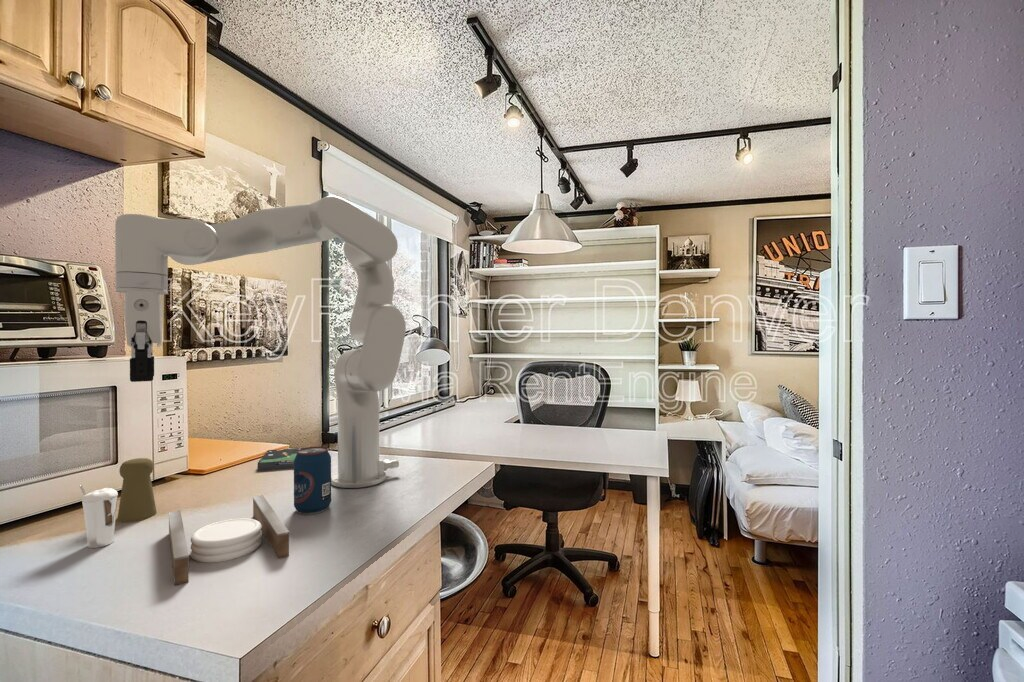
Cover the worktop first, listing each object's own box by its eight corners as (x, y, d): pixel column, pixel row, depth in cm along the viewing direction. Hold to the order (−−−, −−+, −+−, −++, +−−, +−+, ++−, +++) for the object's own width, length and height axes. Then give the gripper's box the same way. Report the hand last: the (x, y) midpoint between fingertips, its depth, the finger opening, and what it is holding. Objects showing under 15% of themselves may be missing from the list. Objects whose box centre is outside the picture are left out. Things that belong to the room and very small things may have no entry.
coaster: (272, 536, 83) (272, 516, 83) (242, 564, 73) (241, 541, 73) (214, 537, 83) (214, 517, 83) (175, 565, 73) (175, 542, 73)
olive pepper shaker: (134, 523, 89) (134, 464, 89) (108, 520, 90) (108, 462, 90) (164, 511, 95) (164, 456, 95) (139, 509, 96) (139, 454, 96)
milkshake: (91, 539, 82) (91, 481, 82) (125, 537, 82) (124, 480, 82) (69, 550, 77) (68, 489, 77) (104, 549, 78) (104, 488, 78)
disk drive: (266, 459, 137) (257, 473, 123) (266, 450, 137) (257, 462, 123) (305, 456, 140) (301, 469, 126) (305, 447, 140) (301, 458, 126)
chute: (262, 514, 93) (262, 495, 93) (289, 555, 76) (289, 531, 76) (168, 533, 84) (168, 512, 84) (174, 585, 67) (174, 558, 67)
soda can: (285, 512, 94) (285, 452, 94) (312, 501, 100) (312, 444, 100) (313, 517, 91) (312, 455, 91) (338, 505, 98) (338, 447, 98)
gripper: (168, 282, 82) (168, 381, 82) (167, 290, 96) (167, 375, 96) (111, 278, 77) (111, 384, 77) (119, 287, 91) (119, 377, 91)
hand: (142, 379), depth 87 cm, fingers open, 9 cm apart
